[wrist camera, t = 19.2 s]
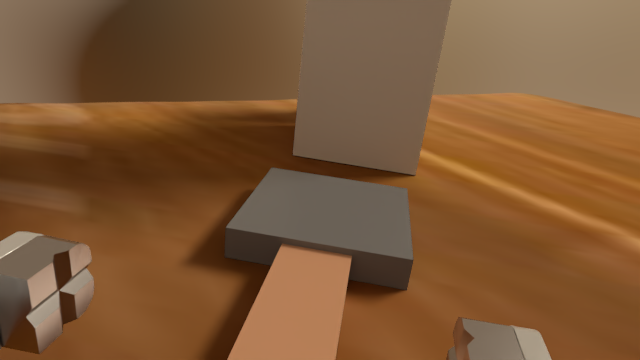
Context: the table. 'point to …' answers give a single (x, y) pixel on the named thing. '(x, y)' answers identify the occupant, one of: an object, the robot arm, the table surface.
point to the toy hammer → (315, 257)
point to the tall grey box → (368, 80)
